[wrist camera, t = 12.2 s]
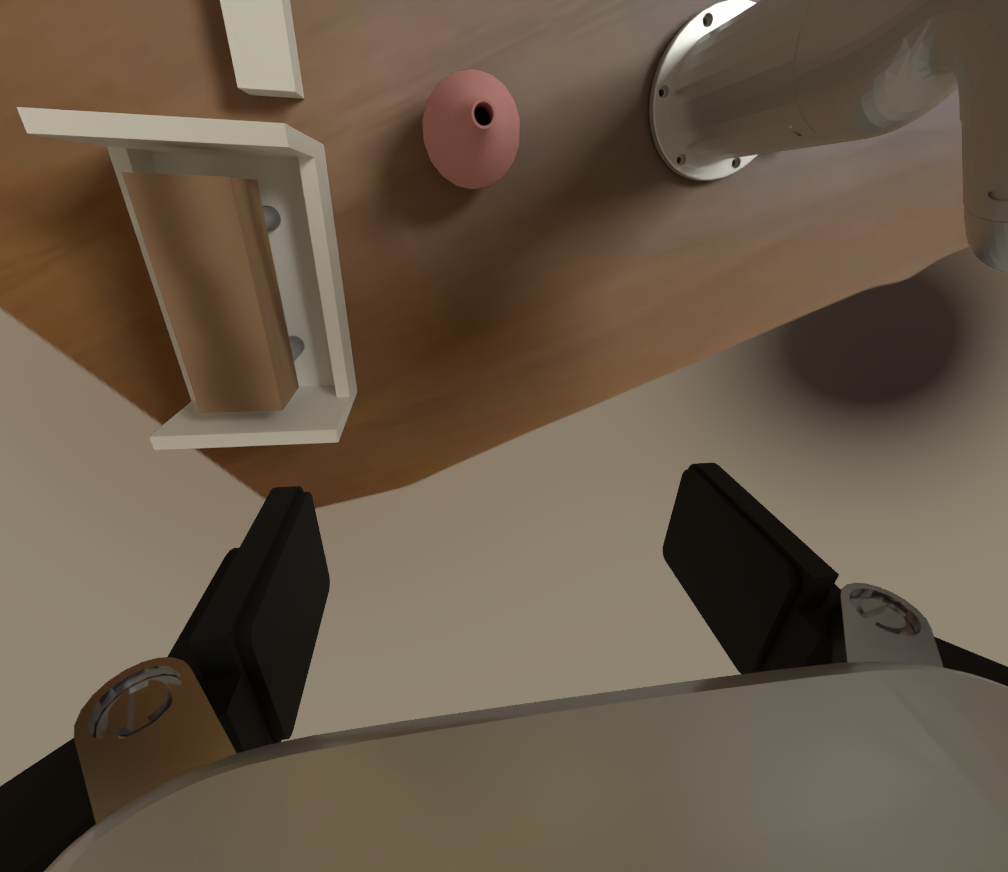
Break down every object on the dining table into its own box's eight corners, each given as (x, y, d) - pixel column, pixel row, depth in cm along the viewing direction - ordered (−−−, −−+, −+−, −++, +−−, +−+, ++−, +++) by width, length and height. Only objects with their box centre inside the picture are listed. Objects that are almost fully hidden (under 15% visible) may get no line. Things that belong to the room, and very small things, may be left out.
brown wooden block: (257, 180, 31) (229, 176, 27) (298, 387, 39) (282, 410, 34) (165, 176, 30) (121, 171, 26) (226, 388, 38) (200, 413, 34)
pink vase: (523, 171, 39) (558, 160, 29) (445, 203, 39) (451, 204, 29) (494, 66, 35) (522, 8, 25) (407, 102, 35) (398, 60, 25)
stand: (323, 144, 36) (284, 123, 26) (357, 391, 46) (338, 442, 36) (135, 134, 34) (16, 107, 24) (214, 395, 44) (154, 450, 34)
